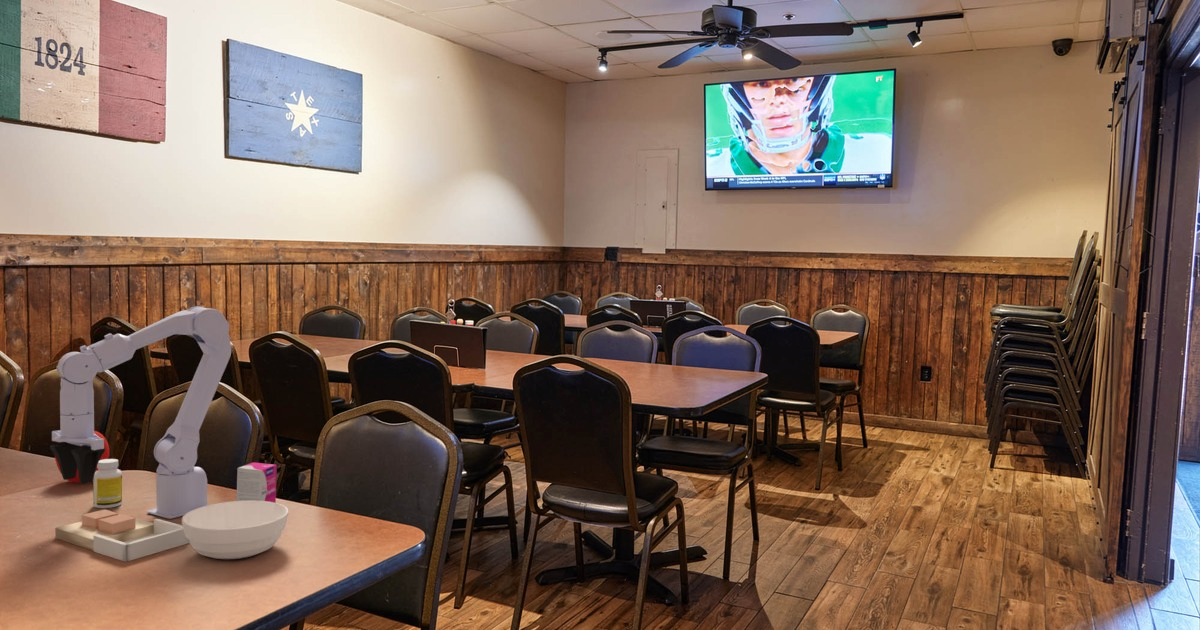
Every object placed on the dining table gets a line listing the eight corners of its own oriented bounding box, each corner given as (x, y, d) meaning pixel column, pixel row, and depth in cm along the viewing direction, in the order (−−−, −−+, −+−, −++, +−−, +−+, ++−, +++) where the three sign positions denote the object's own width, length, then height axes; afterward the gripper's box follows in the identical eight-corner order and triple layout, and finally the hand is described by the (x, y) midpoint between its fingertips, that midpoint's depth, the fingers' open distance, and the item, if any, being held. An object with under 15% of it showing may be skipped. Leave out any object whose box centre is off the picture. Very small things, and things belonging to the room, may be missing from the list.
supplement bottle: (127, 504, 189) (126, 460, 188) (101, 510, 184) (101, 465, 184) (113, 500, 192) (113, 456, 191) (88, 506, 187) (88, 461, 187)
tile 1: (104, 519, 172) (104, 509, 172) (118, 523, 170) (118, 513, 170) (81, 525, 168) (81, 514, 168) (95, 529, 166) (95, 518, 166)
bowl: (308, 544, 167) (308, 507, 167) (240, 575, 150) (240, 534, 150) (232, 531, 173) (232, 496, 173) (158, 560, 156) (158, 521, 156)
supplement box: (261, 525, 178) (261, 470, 177) (235, 522, 179) (235, 467, 178) (276, 517, 183) (277, 463, 183) (251, 514, 185) (251, 461, 184)
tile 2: (121, 524, 169) (121, 514, 169) (135, 528, 167) (135, 518, 167) (98, 530, 166) (98, 519, 165) (112, 534, 163) (112, 523, 163)
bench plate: (116, 522, 177) (116, 512, 176) (156, 534, 170) (156, 524, 170) (55, 538, 166) (55, 527, 166) (95, 551, 160) (95, 540, 160)
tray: (157, 533, 170) (157, 518, 170) (189, 542, 166) (189, 527, 166) (93, 551, 160) (93, 535, 159) (125, 561, 155) (125, 545, 155)
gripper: (35, 411, 171) (36, 479, 172) (77, 420, 164) (78, 490, 165) (72, 407, 178) (72, 472, 178) (114, 415, 170) (114, 483, 171)
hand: (77, 480), depth 172 cm, fingers open, 5 cm apart
